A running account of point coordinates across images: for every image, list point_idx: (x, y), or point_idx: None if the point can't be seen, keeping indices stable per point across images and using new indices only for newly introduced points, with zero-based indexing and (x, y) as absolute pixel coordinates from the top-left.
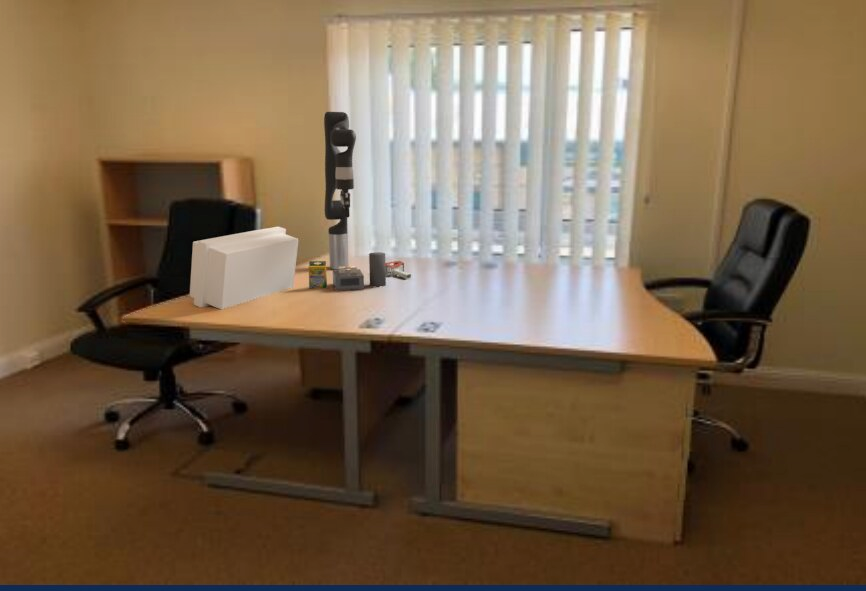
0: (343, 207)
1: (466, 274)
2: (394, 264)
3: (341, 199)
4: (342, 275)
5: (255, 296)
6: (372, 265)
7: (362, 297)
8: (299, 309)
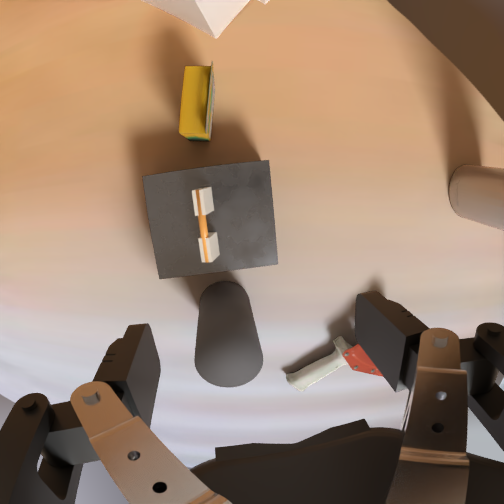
0: (85, 385)
1: None
2: None
3: (408, 424)
4: (166, 201)
5: None
6: (202, 322)
7: (71, 258)
8: None
